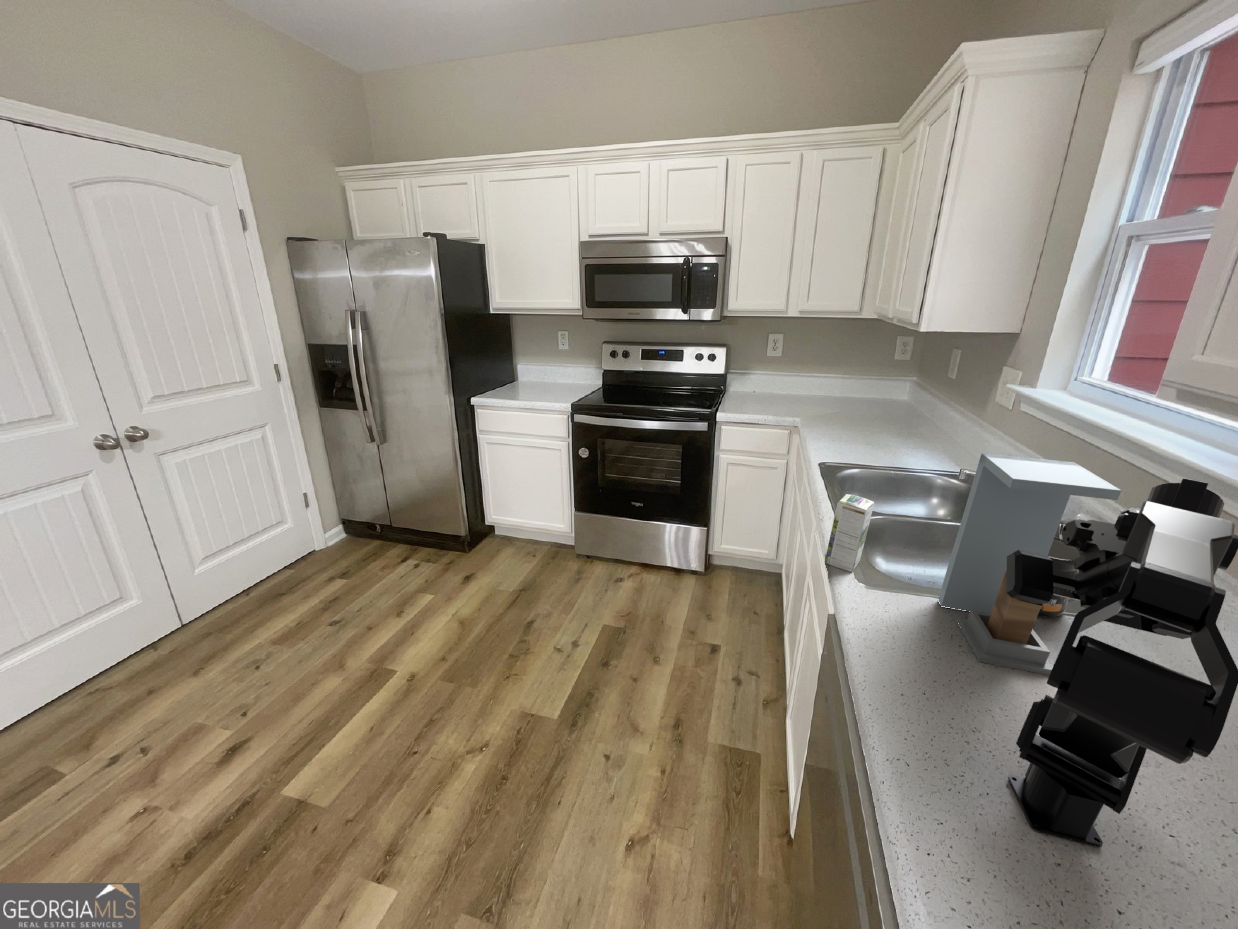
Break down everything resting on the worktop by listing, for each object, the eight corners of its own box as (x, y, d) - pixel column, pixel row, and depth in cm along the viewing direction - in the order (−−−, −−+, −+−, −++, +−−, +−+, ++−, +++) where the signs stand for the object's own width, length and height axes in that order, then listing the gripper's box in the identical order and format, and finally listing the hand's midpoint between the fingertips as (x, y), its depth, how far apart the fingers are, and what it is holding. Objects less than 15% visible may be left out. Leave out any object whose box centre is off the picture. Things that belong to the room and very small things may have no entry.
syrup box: (832, 553, 110) (844, 492, 104) (861, 562, 106) (875, 500, 101) (824, 563, 105) (836, 500, 100) (853, 573, 102) (867, 509, 97)
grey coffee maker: (1051, 660, 80) (1121, 490, 69) (959, 643, 83) (1013, 478, 73) (1017, 614, 90) (1074, 462, 80) (937, 601, 94) (981, 452, 83)
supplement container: (998, 609, 92) (1018, 552, 88) (989, 580, 101) (1007, 527, 97) (1070, 627, 87) (1095, 568, 83) (1055, 596, 96) (1077, 541, 92)
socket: (1053, 676, 76) (1060, 657, 75) (978, 661, 79) (984, 643, 78) (1023, 634, 85) (1029, 617, 84) (957, 622, 88) (962, 606, 87)
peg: (1023, 653, 80) (1047, 589, 75) (994, 647, 81) (1017, 584, 76) (1012, 637, 83) (1035, 575, 79) (984, 632, 84) (1005, 570, 80)
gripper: (1233, 531, 57) (1135, 569, 71) (1039, 495, 63) (983, 537, 76) (1251, 628, 53) (1143, 649, 66) (1041, 580, 58) (981, 608, 72)
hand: (1058, 606), depth 70 cm, fingers open, 9 cm apart
